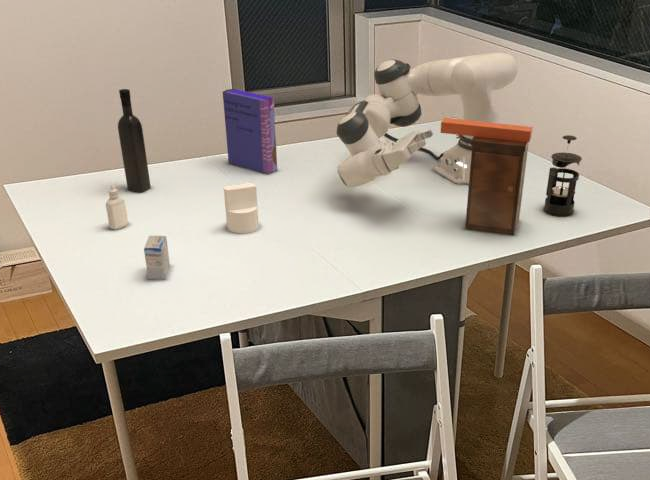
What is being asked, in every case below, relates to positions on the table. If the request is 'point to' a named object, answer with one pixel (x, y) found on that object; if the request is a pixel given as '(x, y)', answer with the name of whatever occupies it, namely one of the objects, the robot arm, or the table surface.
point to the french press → (559, 196)
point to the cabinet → (495, 185)
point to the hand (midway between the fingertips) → (428, 137)
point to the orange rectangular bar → (486, 129)
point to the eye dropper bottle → (116, 210)
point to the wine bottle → (132, 147)
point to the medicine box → (157, 257)
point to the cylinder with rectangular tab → (241, 208)
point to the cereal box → (250, 130)
